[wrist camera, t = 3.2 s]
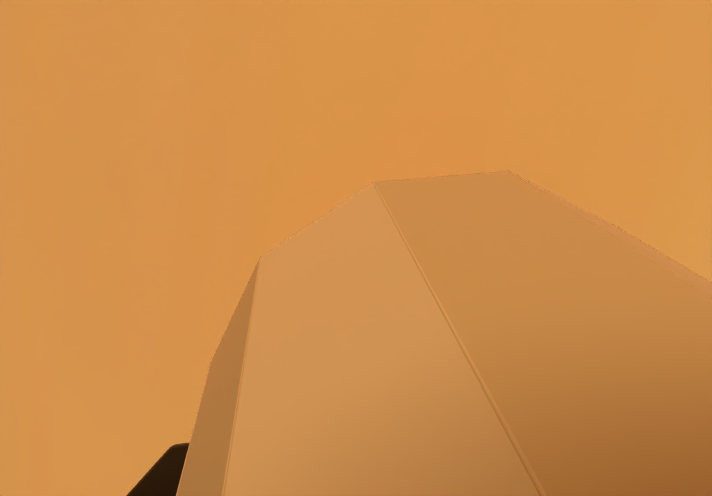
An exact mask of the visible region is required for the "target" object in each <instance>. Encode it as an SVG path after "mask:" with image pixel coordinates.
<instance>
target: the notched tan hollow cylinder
mask: <svg viewBox="0 0 712 496" xmlns="http://www.w3.org/2000/svg"><path fill="white" fill-rule="evenodd" d="M176 496H712V282H710V281H708V280H706V279H705V278H703V277H701V276H700V275H698V274H696V273H695V272H693V271H691V270H689V269H688V268H686V267H684V266H683V265H681V264H679V263H678V262H676V261H674V260H672V259H671V258H669V257H667V256H666V255H664V254H662V253H661V252H659V251H657V250H655V249H654V248H652V247H650V246H649V245H647V244H645V243H644V242H642V241H640V240H638V239H637V238H635V237H633V236H632V235H630V234H628V233H627V232H625V231H623V230H621V229H620V228H618V227H616V226H615V225H613V224H610V223H608V222H606V221H604V220H603V219H601V218H599V217H597V216H595V215H593V214H591V213H589V212H587V211H585V210H583V209H581V208H579V207H577V206H575V205H574V204H572V203H570V202H568V201H566V200H564V199H562V198H560V197H558V196H556V195H554V194H552V193H550V192H548V191H547V190H545V189H543V188H541V187H539V186H537V185H535V184H533V183H531V182H529V181H527V180H525V179H523V178H521V177H520V176H518V175H516V174H514V173H512V172H511V171H508V170H507V171H499V172H487V173H475V174H463V175H451V176H439V177H427V178H415V179H403V180H391V181H379V182H372V183H371V184H369V185H368V186H366V187H365V188H363V189H362V190H360V191H359V192H357V193H356V194H354V195H353V196H351V197H350V198H348V199H347V200H345V201H344V202H342V203H341V204H339V205H338V206H336V207H335V208H333V209H332V210H330V211H329V212H327V213H326V214H324V215H323V216H321V217H320V218H318V219H317V220H315V221H314V222H312V223H311V224H309V225H308V226H306V227H305V228H303V229H302V230H300V231H299V232H297V233H296V234H294V235H293V236H291V237H290V238H288V239H287V240H285V241H284V242H282V243H281V244H279V245H278V246H276V247H275V248H273V249H272V250H270V251H269V252H267V253H266V254H264V255H263V256H261V257H260V258H259V261H258V263H257V265H256V267H255V269H254V272H253V274H252V276H251V278H250V280H249V282H248V284H247V286H246V289H245V291H244V293H243V295H242V297H241V299H240V301H239V303H238V306H237V308H236V310H235V312H234V314H233V316H232V318H231V320H230V323H229V325H228V327H227V329H226V331H225V333H224V335H223V338H222V340H221V342H220V344H219V346H218V348H217V350H216V352H215V355H214V357H213V359H212V361H211V362H210V366H209V370H208V374H207V378H206V382H205V385H204V389H203V393H202V397H201V401H200V405H199V409H198V413H197V416H196V420H195V424H194V428H193V432H192V436H191V440H190V443H189V447H188V451H187V455H186V459H185V463H184V467H183V470H182V474H181V478H180V482H179V486H178V490H177V494H176Z"/></svg>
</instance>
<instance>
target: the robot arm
mask: <svg viewBox="0 0 712 496" xmlns="http://www.w3.org/2000/svg"><path fill="white" fill-rule="evenodd" d="M188 447H189V443H182V444H176V445H173V446H172V447H170V448H169V449H168V450H167V451H166V452H165V453H164V454H163V456H162V457H161V458H160V459H159V460H158V461H157V462H156V463H155V464H154V466H153V467H152V468H151V469H150V470H149V471H148V472H147V473H146V474H145V476H144V477H143V478H142V479H141V480H140V481H139V482H138V483H137V484H136V486H135V487H134V488H133V489H132V490H131V491H130V492H129V493H128V494H127V496H176V494H177V490H178V486H179V482H180V478H181V474H182V470H183V467H184V463H185V459H186V455H187V451H188Z"/></svg>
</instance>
